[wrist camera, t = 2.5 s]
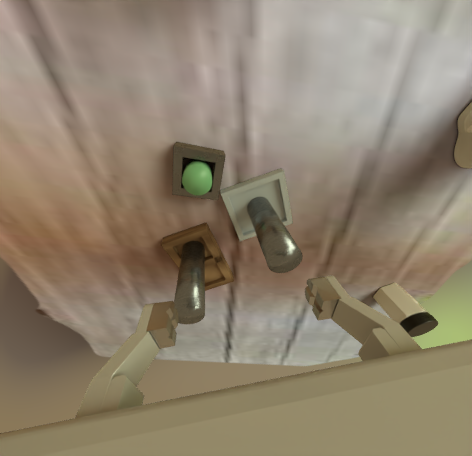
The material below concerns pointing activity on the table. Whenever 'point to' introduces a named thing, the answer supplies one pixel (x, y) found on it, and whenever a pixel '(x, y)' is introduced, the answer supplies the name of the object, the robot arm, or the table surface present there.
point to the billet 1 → (191, 284)
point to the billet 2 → (273, 236)
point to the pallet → (214, 259)
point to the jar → (405, 310)
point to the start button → (197, 177)
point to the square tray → (244, 192)
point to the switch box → (200, 154)
